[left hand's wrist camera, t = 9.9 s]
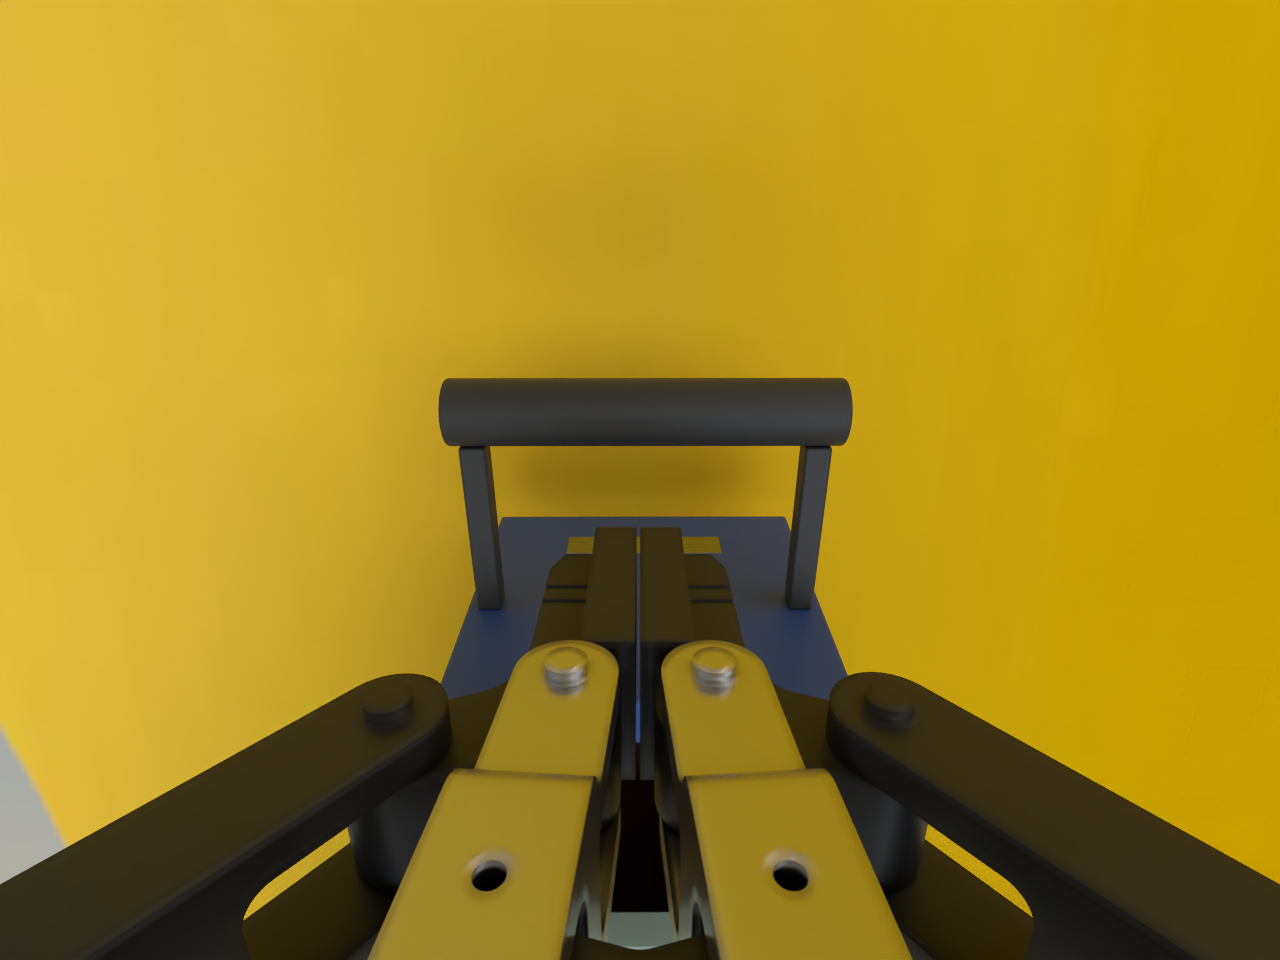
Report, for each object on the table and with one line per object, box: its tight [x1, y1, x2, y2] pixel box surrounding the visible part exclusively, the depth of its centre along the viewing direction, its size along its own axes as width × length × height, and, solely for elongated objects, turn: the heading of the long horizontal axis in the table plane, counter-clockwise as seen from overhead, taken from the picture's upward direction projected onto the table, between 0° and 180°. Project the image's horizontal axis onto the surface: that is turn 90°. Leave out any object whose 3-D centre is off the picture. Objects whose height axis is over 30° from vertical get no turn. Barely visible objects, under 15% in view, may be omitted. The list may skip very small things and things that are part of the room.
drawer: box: [439, 378, 853, 912], centre depth 20 cm, size 23×9×8 cm, turn 0°
